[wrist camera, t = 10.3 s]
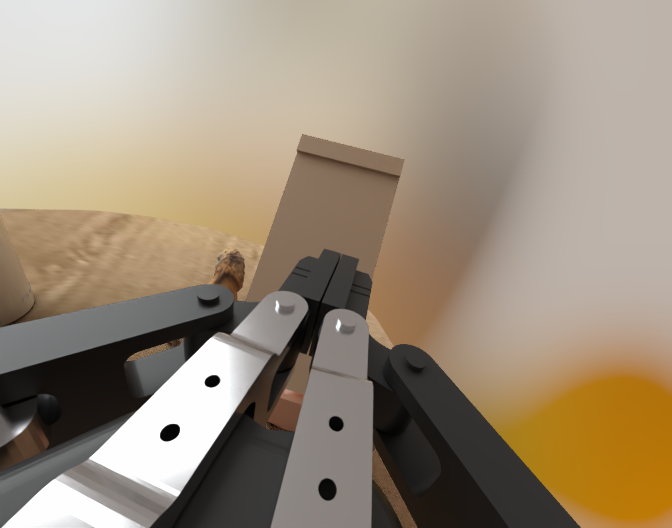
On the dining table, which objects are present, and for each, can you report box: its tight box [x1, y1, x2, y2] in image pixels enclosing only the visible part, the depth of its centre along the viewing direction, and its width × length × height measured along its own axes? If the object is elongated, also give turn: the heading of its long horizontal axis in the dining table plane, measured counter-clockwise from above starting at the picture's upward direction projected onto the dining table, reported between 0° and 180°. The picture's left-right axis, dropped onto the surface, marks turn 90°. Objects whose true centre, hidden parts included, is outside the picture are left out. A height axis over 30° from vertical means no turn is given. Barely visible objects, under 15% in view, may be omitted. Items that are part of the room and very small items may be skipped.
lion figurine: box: [168, 249, 245, 348], centre depth 38 cm, size 15×5×9 cm, turn 168°
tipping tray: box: [246, 134, 404, 395], centre depth 24 cm, size 13×8×16 cm
